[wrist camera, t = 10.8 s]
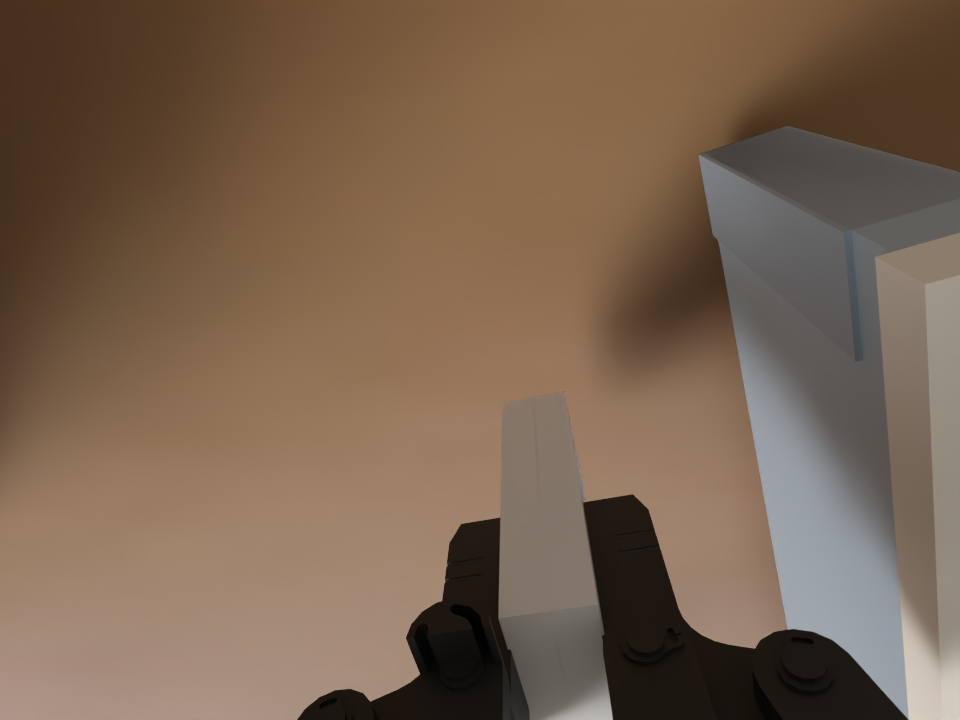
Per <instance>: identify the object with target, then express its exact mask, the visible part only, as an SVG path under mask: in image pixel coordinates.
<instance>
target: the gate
mask: <svg viewBox="0 0 960 720" xmlns="http://www.w3.org/2000/svg"><path fill="white" fill-rule="evenodd" d="M698 156H699V161H700V167H701V173H702V178H703V184H704V189H705V195H706V200H707V206H708V211H709V217H710V222H711V228H712V233H713V236H714V237H715V238H716V239H717V240H718V242H719V248H720V253H721V259H722V265H723V270H724V276H725V281H726V287H727V293H728V298H729V304H730V309H731V315H732V321H733V326H734V332H735V338H736V343H737V349H738V354H739V360H740V366H741V371H742V377H743V382H744V388H745V394H746V399H747V405H748V410H749V416H750V422H751V427H752V433H753V438H754V444H755V450H756V455H757V461H758V466H759V472H760V478H761V483H762V489H763V494H764V500H765V506H766V511H767V517H768V522H769V528H770V534H771V539H772V545H773V550H774V556H775V562H776V567H777V573H778V578H779V584H780V590H781V595H782V601H783V606H784V612H785V618H786V623H787V629H788V630H790V629H797V630H804V631H811V632H815V633H817V634H819V635H822V636H824V637H826V638H829V639H831V640H833V641H834V642H836V643H837V644H838V645H839V646H840V647H842V648H843V649H844V650H845V651H847V652H848V653H849V654H850V655H851V656H852V657H853V659H854V660H855V661H856V662H857V663H858V664H859V665H860V666H861V667H862V669H863V670H864V671H865V672H866V673H867V674H868V675H869V676H870V677H871V679H872V680H873V681H874V682H875V683H876V684H877V685H878V686H879V687H880V689H881V690H882V691H883V692H884V693H885V694H886V695H887V696H888V697H889V699H890V700H891V701H892V702H893V703H894V704H895V705H896V706H897V707H898V709H899V710H900V711H901V712H902V713H903V714H904V715H905V716H906V717H907V719H908V720H960V172H958V171H955V170H951V169H947V168H943V167H940V166H936V165H932V164H928V163H925V162H921V161H917V160H913V159H910V158H906V157H902V156H899V155H895V154H891V153H887V152H884V151H880V150H876V149H872V148H869V147H865V146H861V145H857V144H854V143H850V142H846V141H842V140H839V139H835V138H831V137H828V136H824V135H820V134H816V133H813V132H809V131H805V130H801V129H798V128H794V127H790V126H785V127H782V128H779V129H776V130H773V131H769V132H766V133H763V134H760V135H757V136H754V137H751V138H748V139H745V140H742V141H739V142H736V143H732V144H729V145H726V146H723V147H720V148H717V149H714V150H711V151H708V152H705V153H702V154H698Z"/></svg>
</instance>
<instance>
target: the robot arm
mask: <svg viewBox="0 0 960 720" xmlns="http://www.w3.org/2000/svg"><path fill="white" fill-rule="evenodd" d="M447 565H448V567H447V568H446V576H445V581H446V583H445V584H444V592H443V601H441V602H438V603H435V604H434V605H432V606H431V607H429V608H428V609H426V610H424V611H423V612H422V613H421V614H420V615H419V616H418V617H417V618H416V620H415V621H414V622H413V623H412V624H411V627H410V629H409V632H408V634H407V637H406V639H407V642H408V644H409V647H410V649H411V652H412V654H413V657H414V659H415V662H416V664H417V667H418V669H419V672H420V675H419V676H418V677H417V678H415V679H414V680H413V681H412V682H411V683H409V684H407V685H405V686H404V687H402V688H400V689H398V690H396V691H394V692H391V693H389V694H387V695H385V696H382V697H380V698H378V699H376V700H373V701H371V702H370V701H369V700H368V699H367V697H366V696H365V695H364V694H363V693H361V692H358V691H355V690H352V689H345V690H335V691H333V692H331V693H328V694H326V695H324V696H322V697H319V698H318V699H317V700H316V701H314V702H313V703H312V704H311V705H310V706H308V707H307V708H306V709H305V710H304V711H303V713H302V714H301V715H300V717H299V718H298V720H908V719H907V717H906V716H905V715H904V714H903V713H902V712H901V711H900V710H899V709H898V707H897V706H896V705H895V704H894V703H893V702H892V701H891V700H890V699H889V697H888V696H887V695H886V694H885V693H884V692H883V691H882V690H881V689H880V687H879V686H878V685H877V684H876V683H875V682H874V681H873V680H872V679H871V677H870V676H869V675H868V674H867V673H866V672H865V671H864V670H863V669H862V667H861V666H860V665H859V664H858V663H857V662H856V661H855V660H854V659H853V657H852V656H851V655H850V654H849V653H848V652H847V651H845V650H844V649H843V648H842V647H840V646H839V645H838V644H837V643H836V642H834V641H833V640H831V639H829V638H826V637H824V636H822V635H819V634H817V633H815V632H811V631H804V630H797V629H790V630H783V631H777V632H774V633H772V634H770V635H769V636H767V637H765V638H764V639H762V640H760V642H759V643H758V645H757V647H756V648H755V649H753V648H746V647H739V646H733V645H727V644H723V643H719V642H715V641H713V640H711V639H709V638H706V637H704V636H702V635H701V634H699V633H698V632H696V631H695V630H694V629H692V628H691V627H690V626H689V625H688V623H687V622H686V621H685V620H684V619H683V617H682V615H681V613H680V611H679V609H678V606H677V602H676V599H675V596H674V592H673V589H672V586H671V583H670V579H669V576H668V573H667V569H666V566H665V563H664V560H663V556H662V553H661V550H660V547H659V543H658V540H657V536H656V533H655V530H654V527H653V523H652V520H651V517H650V513H649V510H648V509H647V508H646V507H645V506H644V505H643V504H642V503H641V502H640V501H639V500H638V499H637V498H636V497H635V496H634V495H627V496H620V497H614V498H608V499H602V500H596V501H590V502H586V498H585V492H584V487H583V481H582V476H581V472H580V467H579V462H578V457H577V452H576V448H575V443H574V438H573V433H572V428H571V424H570V419H569V414H568V409H567V404H566V399H565V395H564V392H559V393H553V394H548V395H543V396H537V397H532V398H527V399H521V400H516V401H511V402H505V403H503V414H502V463H501V513H500V518H496V519H490V520H484V521H477V522H471V523H465V524H461V526H460V527H459V529H458V530H457V532H456V534H455V535H454V537H453V538H452V540H451V542H450V544H449V552H448V560H447Z"/></svg>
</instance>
